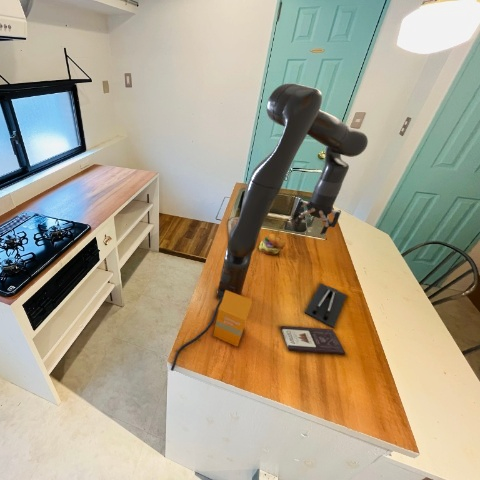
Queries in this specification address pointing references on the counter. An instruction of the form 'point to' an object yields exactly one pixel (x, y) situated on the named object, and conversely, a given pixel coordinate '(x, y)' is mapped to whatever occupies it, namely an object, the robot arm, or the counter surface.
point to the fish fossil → (232, 223)
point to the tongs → (330, 293)
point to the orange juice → (232, 317)
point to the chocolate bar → (312, 340)
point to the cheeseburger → (272, 244)
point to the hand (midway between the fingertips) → (309, 229)
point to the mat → (321, 311)
